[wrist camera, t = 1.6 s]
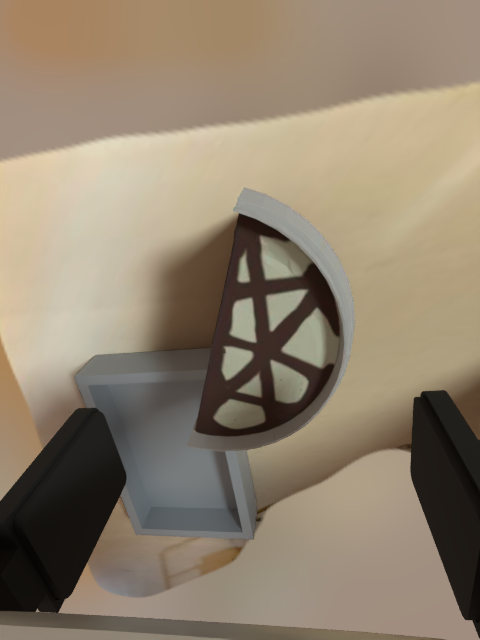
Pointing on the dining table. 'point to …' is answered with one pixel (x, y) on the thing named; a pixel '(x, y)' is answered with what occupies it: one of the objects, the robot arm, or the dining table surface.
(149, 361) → the tray
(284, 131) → the dining table surface
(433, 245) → the dining table surface
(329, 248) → the food container
